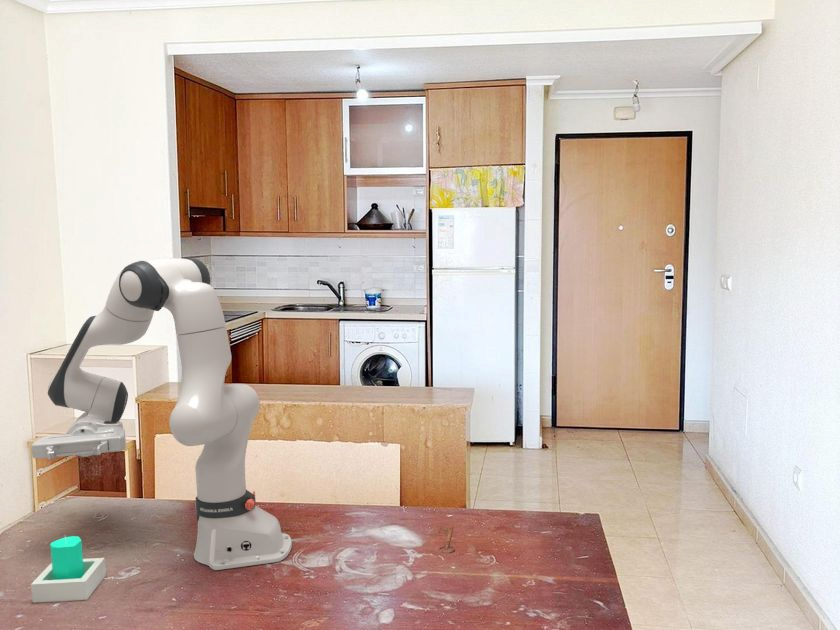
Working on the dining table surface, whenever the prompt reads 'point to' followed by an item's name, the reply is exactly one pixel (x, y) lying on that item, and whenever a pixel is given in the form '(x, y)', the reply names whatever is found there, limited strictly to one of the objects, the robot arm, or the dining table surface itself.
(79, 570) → the candle
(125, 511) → the dining table surface
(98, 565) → the frame
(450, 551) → the key
